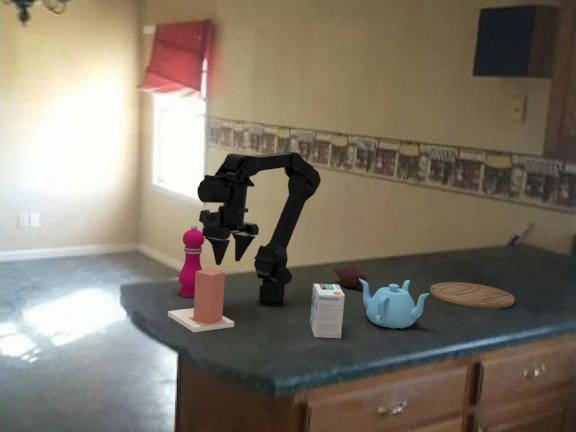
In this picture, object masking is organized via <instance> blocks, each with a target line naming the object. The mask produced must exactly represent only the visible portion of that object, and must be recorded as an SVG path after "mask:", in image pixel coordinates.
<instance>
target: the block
mask: <svg viewBox="0 0 576 432" xmlns="http://www.w3.org/2000/svg"><path fill="white" fill-rule="evenodd" d="M225 277H226V272H225V271H222V270H218V269H214V268H210V267H209V268H206V269H202V270H200V271H196V275H195V295H194V297H193V298H194V299H193V308H194V315H193V320H196V321H199V322H203V323H206V324H212V323H215V322H217V321H220V320H222V316H224V314H223V313H224V299H225V298H224V294H225V293H224V292H225V281H226V280H225Z"/></svg>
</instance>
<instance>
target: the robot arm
mask: <svg viewBox="0 0 576 432" xmlns="http://www.w3.org/2000/svg"><path fill="white" fill-rule="evenodd" d="M282 168H283V169H284V174H285V175H286V176H287V177H288V182H287V190H288V196H287V198H286V201H285V204H284V206H283V209H282V212H281V213H280V216H279V218H278V221H277V223H276V226H275V228H274V231H273V233H272V236H271V238H270V240H269V243H267V244H265V245H262V244H261V245H260V246H259V247H258V249H257V252H256V255H255V256H254V258H253V259H254V263H253V267H254V271H255V272H256V276H257V279H260V280H261V281H262V283H260V285H259V291H258V292H259V295H258V301H260V303H259V304H260V305H269V306H285V299H286V298H285V293H286V292H285V291H286V285H288V284H291V282H292V279H293V274H292V273H291V272H290V270H289V269H288V268H287V264H288V261H289V259H288V258H289V257H288V250H287V249H288V246H289V243H290V241H291V239H292V236H293V233H294V230H295V229H296V225H297V223H298V221H299V218H300V216H301V214H302V211H303V209H304V207H305V203H306V202H307V201H308V200H309V199H310V198H311V197H313V195H315V194H316V192H317V190H318V188H319V186H320V184H321V180H322V179H321V176H320V175H321V174H320V173H319V171H318V170H317V169H315V168H314V166H312V165H311V164H310V163H309V162H307V161H306V160H305V159H304V158H303V157H302V156H301V154H300V153H298V152H295V151H289V150H285V151H282V152H274V153H273V152H272V153H265V154H257V155H249V154H242V153H234V152H233V153H232V152H231V153H228V154H227V155H226V157H225V159H224V160H223V162H222V163H221V165H220V166H219V168H218V169H217V170H216V172H215V173H214V175H210V174H204V176H203V177H204V178H203V180H201V181H200V182H199V184H198V186H197V190H196V191H197V196H198V200H199V201H200V202H202V203H209V204H210V203H212V204H214V203H215V204H222V205H219V206H218V209H217V211H214V212H211V211H210V209H203V210H200V212H199V218H198V221H199V222H200V224H202V226H203V227H202V229H201V232H202V236H204V240H207V241H208V243H210V245H211V247H212V253H213V256H214V257H213V258H214V261H215V265H216V266H221V264H222V262H223V260H224V257H225V254H226V252H227V250H228V247H229V244H230V241H231V239H229V238H230V237H231V235H232V238H233V240H234V261H235V262H236V263H237V262H240V261H241V259H242V257H243V256H244V254H245V253H246V251H247V249H248V248H249V246H250V245H251V243H253V240H254V239H256V236H258V235H259V233H260V232H259V231H260V227H259V225H258V224H257V223H252V222H247V221H245V214H246V213H249V208H247V207H246V205H247V196H248V187H252V188H255V183H254V182H253V181H252V180H251V177H253V176H256V175H257V174H258V173H260V172H262V171H270V170H276V169H282Z"/></svg>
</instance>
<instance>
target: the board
mask: <svg viewBox="0 0 576 432" xmlns="http://www.w3.org/2000/svg"><path fill="white" fill-rule="evenodd" d="M193 315H194V307H192V308H184V309H176V310H175V309H173V310H169V311H167V317H169V318H170V319H172V320H174V322H177V323H178V324H180V325H182V326H183V327H185V328H186V329H188V330H189V331H191V332H192V333H199V332H206V331H212V330H221V329H228V328H234V327H235V321H234V320H231V319H230V318H228V317H227V316H224V315H223V316H222V320H220V321H217V322H215V323H212V324H206V323H203V322H199V321H196V320H193Z"/></svg>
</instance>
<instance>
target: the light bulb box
mask: <svg viewBox="0 0 576 432" xmlns="http://www.w3.org/2000/svg"><path fill="white" fill-rule="evenodd" d="M345 297H346V294H345V293H344V292H343V290H342V288H341V286H340V285H339V284H334V283H333V284H330V283H329V284H328V283H313V284H312V296H311V309H310V321H309V325H310V327H311V328H310V329H311V331H312V333H313V337H314V338H321V337H322V339H323V338H324V339H325V338H326V339H342V330H343V329H342V328H343V316H344V306H345V299H346V298H345Z"/></svg>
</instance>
